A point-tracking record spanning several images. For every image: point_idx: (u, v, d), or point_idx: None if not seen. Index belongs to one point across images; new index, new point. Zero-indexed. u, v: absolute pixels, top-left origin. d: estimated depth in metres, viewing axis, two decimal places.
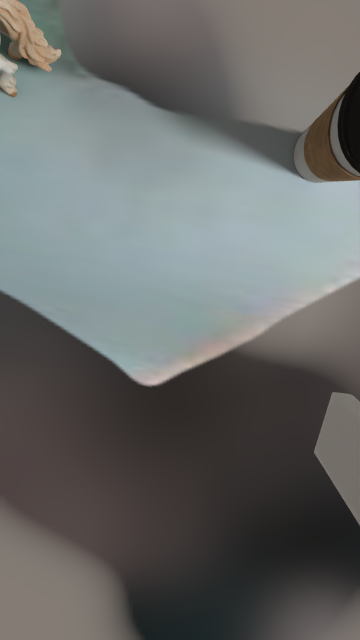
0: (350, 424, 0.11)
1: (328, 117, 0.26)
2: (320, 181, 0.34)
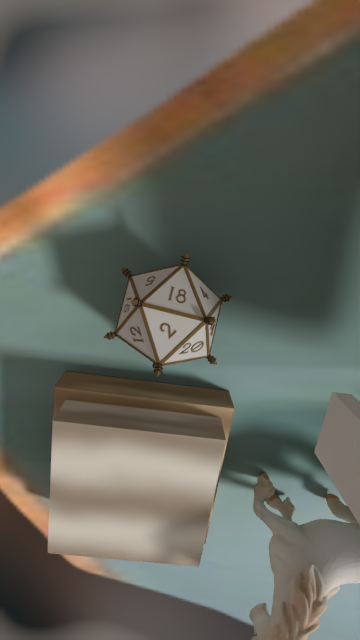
0: (351, 424, 0.11)
1: None
2: None
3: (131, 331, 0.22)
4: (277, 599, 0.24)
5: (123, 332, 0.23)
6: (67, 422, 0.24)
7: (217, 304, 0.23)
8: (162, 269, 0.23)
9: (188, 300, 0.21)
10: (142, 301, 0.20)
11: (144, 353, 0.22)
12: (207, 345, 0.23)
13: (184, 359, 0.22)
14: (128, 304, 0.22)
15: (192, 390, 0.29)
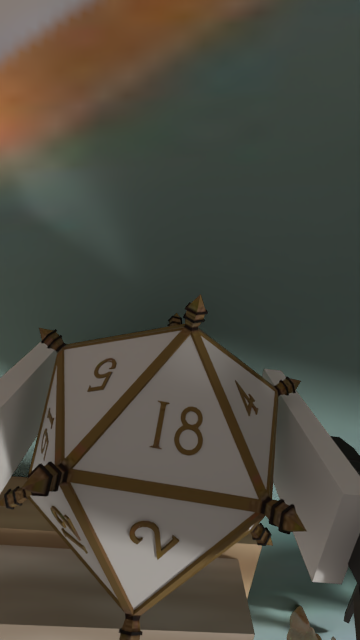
0: None
1: None
2: None
3: (55, 513, 0.08)
4: None
5: (40, 502, 0.09)
6: None
7: (275, 415, 0.09)
8: (137, 337, 0.09)
9: (211, 440, 0.07)
10: (68, 466, 0.06)
11: (92, 571, 0.08)
12: (256, 524, 0.09)
13: (199, 568, 0.09)
14: (47, 437, 0.08)
15: None
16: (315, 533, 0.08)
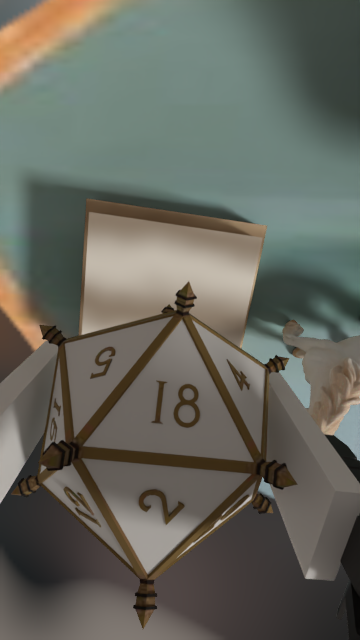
0: None
1: None
2: None
3: (68, 494, 0.09)
4: (316, 389, 0.24)
5: (53, 487, 0.09)
6: (103, 214, 0.24)
7: (266, 390, 0.10)
8: (133, 326, 0.09)
9: (207, 413, 0.08)
10: (78, 444, 0.07)
11: (107, 544, 0.09)
12: (255, 492, 0.10)
13: (206, 535, 0.09)
14: (56, 424, 0.09)
15: None
16: (308, 530, 0.08)
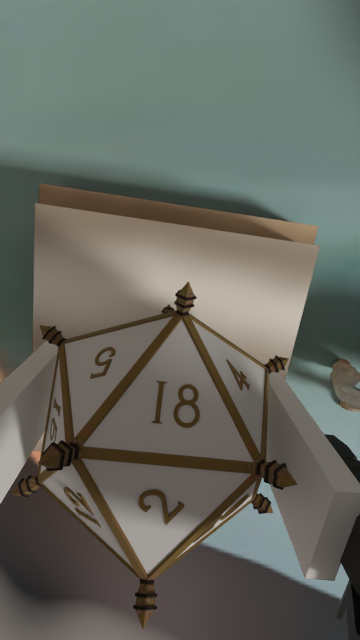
0: None
1: None
2: None
3: (68, 494, 0.09)
4: None
5: (53, 487, 0.09)
6: (59, 207, 0.14)
7: (266, 390, 0.10)
8: (132, 326, 0.09)
9: (207, 413, 0.08)
10: (78, 444, 0.07)
11: (107, 544, 0.09)
12: (255, 492, 0.10)
13: (206, 535, 0.09)
14: (55, 424, 0.09)
15: None
16: (308, 530, 0.08)
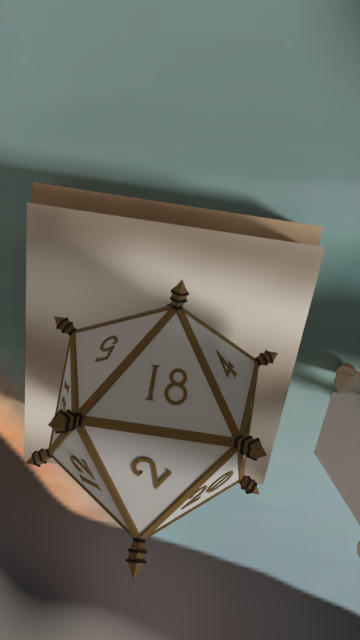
0: (350, 424, 0.11)
1: None
2: None
3: (74, 462, 0.10)
4: None
5: (61, 457, 0.11)
6: (53, 207, 0.14)
7: (253, 379, 0.11)
8: (134, 318, 0.11)
9: (194, 394, 0.09)
10: (82, 413, 0.08)
11: (106, 508, 0.10)
12: (240, 470, 0.11)
13: (194, 506, 0.10)
14: (65, 401, 0.10)
15: None
16: None
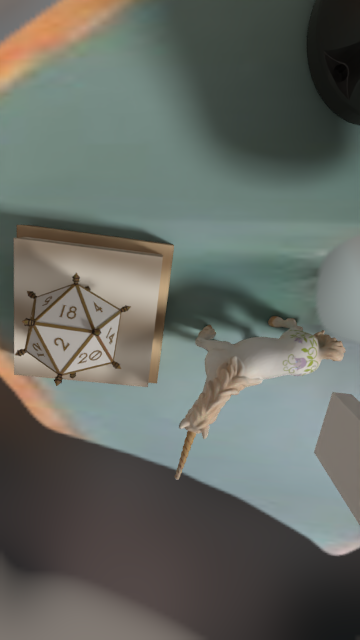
0: (350, 424, 0.11)
1: None
2: None
3: (34, 347, 0.24)
4: None
5: (29, 348, 0.25)
6: (26, 240, 0.28)
7: (113, 315, 0.26)
8: (60, 289, 0.25)
9: (78, 315, 0.24)
10: (34, 320, 0.23)
11: (47, 366, 0.24)
12: (106, 353, 0.25)
13: (86, 367, 0.25)
14: None
15: (140, 240, 0.34)
16: None
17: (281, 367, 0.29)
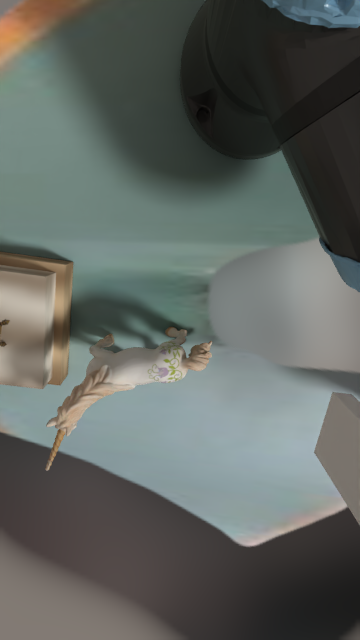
0: (350, 424, 0.11)
1: None
2: None
3: None
4: None
5: None
6: None
7: None
8: None
9: None
10: None
11: None
12: None
13: None
14: None
15: (41, 258, 0.38)
16: None
17: (146, 375, 0.33)
